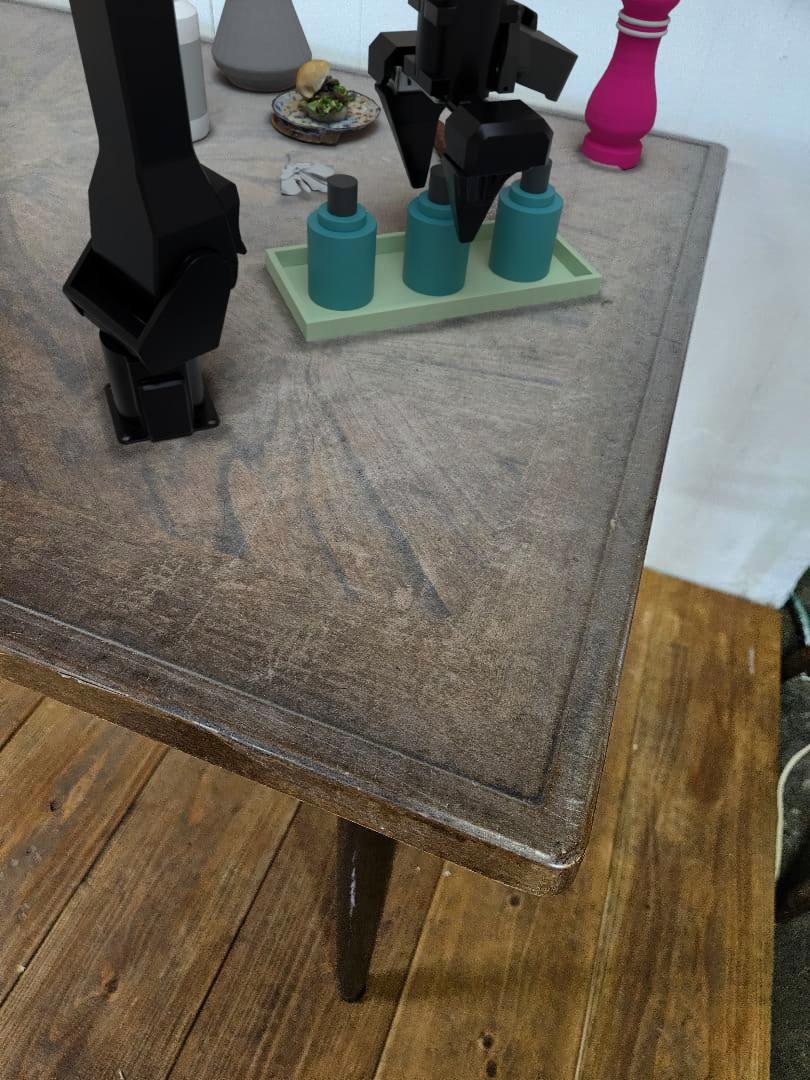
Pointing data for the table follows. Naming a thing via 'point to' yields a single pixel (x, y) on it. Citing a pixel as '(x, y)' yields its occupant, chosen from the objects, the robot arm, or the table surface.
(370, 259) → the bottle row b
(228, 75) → the coffee pot
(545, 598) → the table surface
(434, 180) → the bottle loose
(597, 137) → the pepper mill
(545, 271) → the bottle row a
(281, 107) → the plate of food
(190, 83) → the spray bottle
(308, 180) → the flower
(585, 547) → the table surface
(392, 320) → the tray
